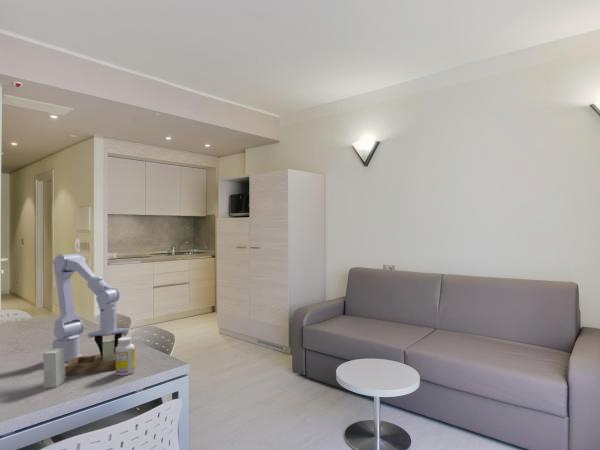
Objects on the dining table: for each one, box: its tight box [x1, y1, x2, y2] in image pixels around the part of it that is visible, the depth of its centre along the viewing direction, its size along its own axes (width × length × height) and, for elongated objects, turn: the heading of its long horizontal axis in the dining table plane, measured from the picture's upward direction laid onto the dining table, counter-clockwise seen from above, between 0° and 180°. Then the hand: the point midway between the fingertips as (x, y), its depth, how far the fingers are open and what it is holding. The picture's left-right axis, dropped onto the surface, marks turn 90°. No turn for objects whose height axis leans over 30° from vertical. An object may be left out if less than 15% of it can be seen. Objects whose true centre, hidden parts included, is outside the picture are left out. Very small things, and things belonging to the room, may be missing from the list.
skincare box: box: [42, 347, 66, 389], centre depth 133 cm, size 6×4×12 cm
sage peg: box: [103, 339, 115, 361], centre depth 152 cm, size 4×4×8 cm
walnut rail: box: [65, 353, 116, 377], centre depth 150 cm, size 20×11×3 cm, turn 112°
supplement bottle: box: [115, 336, 136, 376], centre depth 143 cm, size 7×7×13 cm
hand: (108, 353), depth 152 cm, fingers open, 4 cm apart
